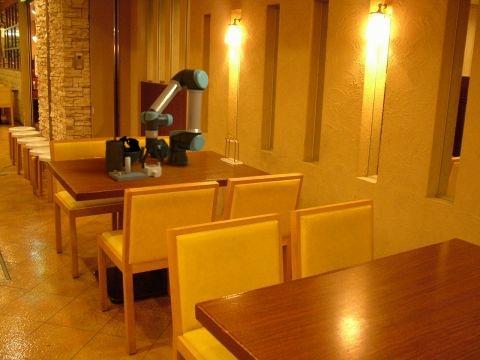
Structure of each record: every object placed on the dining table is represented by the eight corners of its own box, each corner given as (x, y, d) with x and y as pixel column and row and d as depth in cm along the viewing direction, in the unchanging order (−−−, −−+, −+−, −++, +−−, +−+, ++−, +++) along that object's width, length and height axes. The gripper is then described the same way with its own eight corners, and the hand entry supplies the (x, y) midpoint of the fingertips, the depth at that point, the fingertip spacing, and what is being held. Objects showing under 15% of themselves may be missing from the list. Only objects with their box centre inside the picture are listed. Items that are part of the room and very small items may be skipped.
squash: (144, 148, 369) (150, 135, 358) (162, 148, 377) (169, 135, 367) (150, 163, 362) (157, 150, 352) (168, 162, 371) (175, 150, 361)
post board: (136, 173, 312) (136, 154, 309) (147, 178, 299) (147, 158, 297) (108, 175, 302) (108, 156, 299) (118, 181, 289) (118, 161, 287)
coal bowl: (135, 168, 325) (135, 140, 321) (106, 166, 327) (106, 138, 323) (145, 162, 344) (145, 135, 340) (117, 160, 347) (117, 134, 342)
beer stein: (117, 173, 307) (118, 141, 304) (101, 172, 309) (102, 140, 306) (128, 170, 322) (128, 140, 319) (112, 169, 324) (113, 138, 321)
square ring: (142, 173, 311) (141, 165, 310) (155, 172, 316) (155, 164, 315) (150, 177, 301) (150, 169, 300) (164, 176, 306) (164, 168, 305)
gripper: (137, 138, 296) (137, 175, 301) (170, 137, 308) (170, 172, 313) (132, 137, 302) (132, 173, 307) (165, 135, 314) (164, 170, 319)
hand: (151, 172), depth 310 cm, fingers closed on square ring, 9 cm apart
